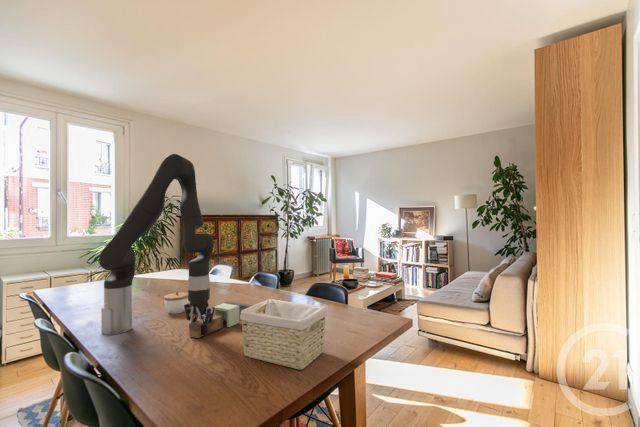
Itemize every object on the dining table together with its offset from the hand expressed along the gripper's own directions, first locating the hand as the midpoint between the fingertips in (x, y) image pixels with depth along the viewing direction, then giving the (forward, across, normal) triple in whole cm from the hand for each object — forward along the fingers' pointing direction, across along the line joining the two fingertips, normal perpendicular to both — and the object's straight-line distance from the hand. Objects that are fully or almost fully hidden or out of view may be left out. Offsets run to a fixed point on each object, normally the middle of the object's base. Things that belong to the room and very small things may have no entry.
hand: (199, 333), depth 112 cm
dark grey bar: (+1, 0, +23) cm, 23 cm away
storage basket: (+1, +37, +2) cm, 37 cm away
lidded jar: (+1, -33, +16) cm, 37 cm away
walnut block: (+1, 0, +3) cm, 3 cm away
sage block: (+1, 0, +14) cm, 14 cm away
